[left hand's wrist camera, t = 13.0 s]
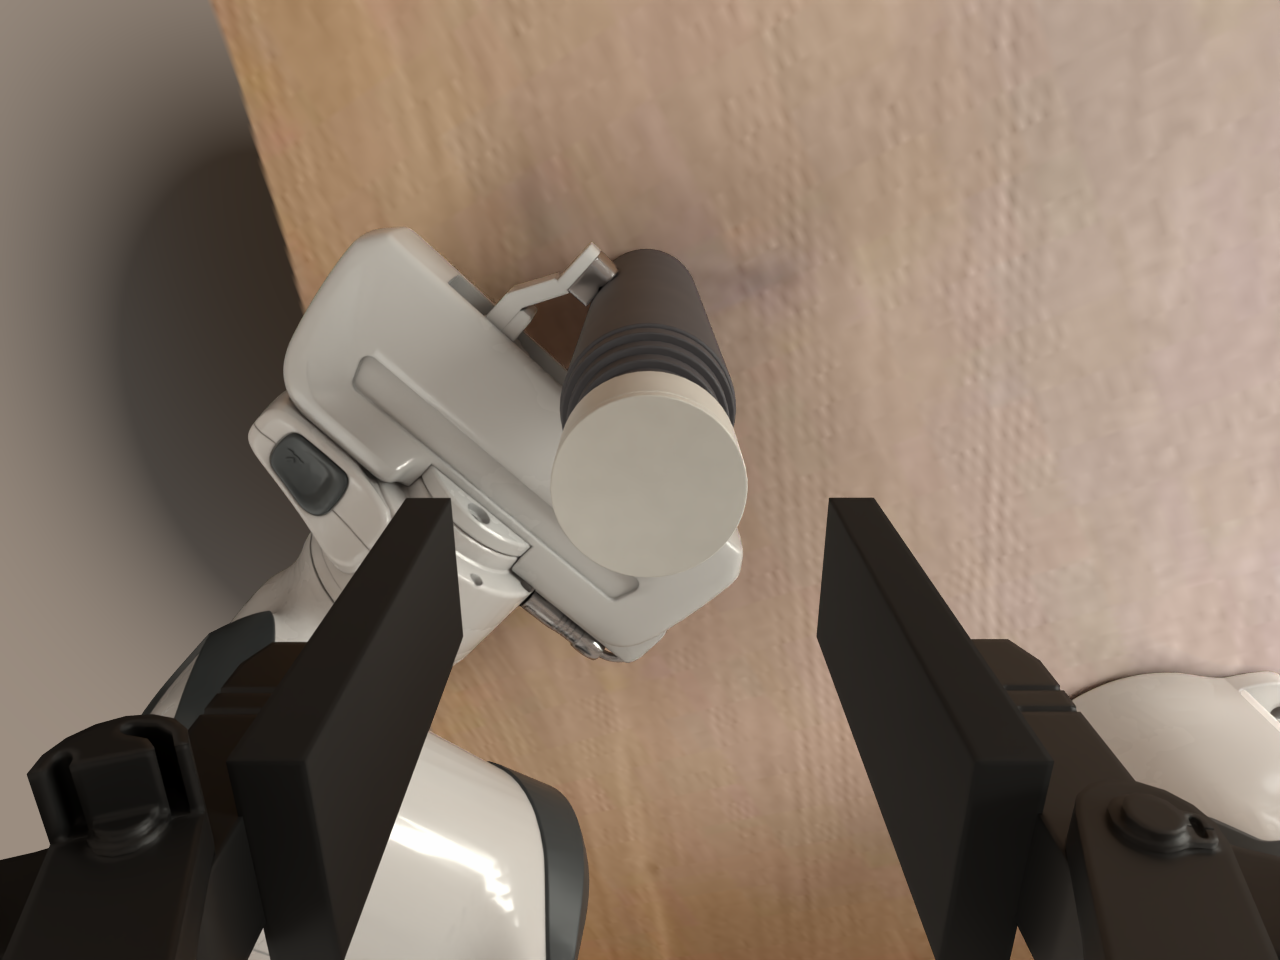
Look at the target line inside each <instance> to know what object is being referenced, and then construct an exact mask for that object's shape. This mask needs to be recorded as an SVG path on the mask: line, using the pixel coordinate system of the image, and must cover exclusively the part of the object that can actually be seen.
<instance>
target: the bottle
mask: <svg viewBox="0 0 1280 960" xmlns="http://www.w3.org/2000/svg"><path fill="white" fill-rule="evenodd" d="M613 263H614V264H615V265H616V266H617V267H618V268H619V269H618V272H617V273H616V275H615V276H614V277H613V278H612V279H611V281H610V282H609V283H607V284H606V285H605V286H601V287H600V289H599V292H598V294H597V295H596V297H595V298H594V299H593V300H592V302H591V305H590V308H589V311H588V313H587V316H586V319H585V322H584V325H583V328H582V331H581V334H580V337H579V339H578V342H577V345H576V348H575V351H574V354H573V357H572V360H571V363H570V366H569V368H568V371H567V374H566V377H565V380H564V383H563V386H562V391H561V396H560V419H561V424H562V430H563V429H564V426H565V424H566V422H567V420H568V418H569V416H570V414H571V413H572V411H573V410H574V408H575V407H576V405H577V404H578V403H579V402H580V401H581V400H582V399H583V398H584V396H586V395H587V394H588V393H589V392H590V391H592V390H593V389H594V388H596V387H597V386H599V385H600V384H602V383H604V382H606V381H608V380H610V379H612V378H614V377H617V376H621V375H624V374H628V373H633V372H641V371H656V372H665V373H669V374H674V375H677V376H680V377H683V378H686V379H688V380H690V381H692V382H694V383H695V384H697V385H699V386H700V387H702V388H703V389H704V390H706V391H707V392H708V393H709V394H710V395H712V396H713V397H714V398H715V399H716V400H717V402H718V403H719V404H720V405H721V406H722V408H723V409H724V411H725V412H726V414H727V416H728V417H729V419H730V422H731V424H732V426H733V429H734V422H735V415H736V399H735V392H734V388H733V384H732V381H731V378H730V375H729V373H728V370H727V367H726V365H725V362H724V359H723V357H722V354H721V351H720V349H719V346H718V344H717V341H716V338H715V336H714V333H713V330H712V328H711V325H710V323H709V320H708V317H707V315H706V312H705V309H704V307H703V304H702V301H701V299H700V296H699V294H698V291H697V288H696V286H695V283H694V281H693V279H692V276H691V275H690V273H689V271H688V270H687V269H686V268H685V266H684V265H683V264H682V263H681V262H680V261H678V260H677V259H676V258H674V257H673V256H671V255H669V254H667V253H664V252H662V251H658V250H652V249H640V250H634V251H631V252H628V253H626V254H624V255H622V256H620V257H618V258H617V259H615V260H614V261H613Z"/></svg>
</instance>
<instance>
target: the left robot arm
mask: <svg viewBox="0 0 1280 960" xmlns="http://www.w3.org/2000/svg"><path fill="white" fill-rule="evenodd" d="M462 639H463V627H462V616H461V605H460V594H459V583H458V571H457V560H456V549H455V538H454V527H453V516H452V505H451V498H406V499H405V500H404V502H403V503H402V505H401V506H400V508H399V509H398V511H397V512H396V513H395V515H394V516H393V518H392V519H391V521H390V522H389V524H388V525H387V527H386V528H385V529H384V531H383V532H382V534H381V535H380V537H379V538H378V540H377V541H376V543H375V544H374V546H373V547H372V548H371V550H370V551H369V553H368V554H367V556H366V557H365V559H364V560H363V562H362V563H361V564H360V566H359V567H358V569H357V570H356V572H355V573H354V575H353V576H352V578H351V579H350V581H349V582H348V583H347V585H346V586H345V588H344V589H343V591H342V592H341V594H340V595H339V597H338V598H337V599H336V601H335V602H334V604H333V605H332V607H331V608H330V610H329V611H328V613H327V614H326V616H325V617H324V618H323V620H322V621H321V623H320V624H319V626H318V627H317V629H316V630H315V632H314V633H313V634H312V636H311V637H310V639H309V640H308V642H272V643H270V644H269V645H267V646H266V647H264V648H263V649H261V650H260V651H258V652H257V653H255V654H254V655H252V656H251V657H249V658H248V659H246V660H245V661H243V662H242V663H240V665H239V666H238V667H237V668H236V670H235V671H234V672H233V673H232V675H231V676H230V677H229V679H228V680H227V681H226V682H225V684H224V685H223V686H222V687H221V692H220V693H217V694H216V695H215V696H214V698H213V699H212V700H211V701H210V703H209V704H208V705H207V706H206V708H205V709H204V715H199V717H198V718H197V719H196V720H195V722H194V723H193V724H192V725H191V727H190V728H189V729H188V731H187V728H186V727H185V726H183V725H182V724H181V723H180V722H179V721H177V720H176V719H175V718H171V717H166V716H161V715H156V714H147V715H134V716H125V717H121V718H117V719H113V720H110V721H106V722H102V723H99V724H95V725H93V726H91V727H89V728H87V729H85V730H82V731H80V732H78V733H76V734H74V735H72V736H69V737H67V738H66V739H64V740H63V741H61V742H60V743H59V744H57V745H56V746H54V747H53V748H52V749H50V750H49V751H47V752H46V753H45V754H43V755H42V756H41V757H40V758H39V760H38V761H37V762H36V763H35V765H34V766H33V767H32V768H31V770H30V771H29V772H28V773H27V777H28V779H29V782H30V785H31V788H32V791H33V794H34V797H35V800H36V803H37V806H38V809H39V812H40V815H41V818H42V821H43V824H44V827H45V830H46V833H47V836H48V839H49V842H50V847H49V848H48V849H44V850H41V851H38V852H34V853H29V854H25V855H21V856H16V857H12V858H8V859H3V860H0V960H248V958H249V956H250V954H251V952H252V950H253V948H254V946H255V944H256V942H257V940H258V938H259V936H260V934H261V932H262V930H263V929H264V934H265V938H266V943H267V947H268V952H269V956H270V960H345V957H346V954H347V951H348V949H349V946H350V943H351V941H352V938H353V935H354V932H355V930H356V927H357V924H358V921H359V919H360V916H361V913H362V911H363V908H364V905H365V902H366V900H367V897H368V894H369V892H370V889H371V886H372V883H373V881H374V878H375V875H376V873H377V870H378V867H379V864H380V862H381V859H382V856H383V854H384V851H385V848H386V845H387V843H388V840H389V837H390V835H391V832H392V829H393V826H394V824H395V821H396V818H397V816H398V813H399V810H400V807H401V805H402V802H403V799H404V797H405V794H406V791H407V788H408V786H409V783H410V780H411V778H412V775H413V772H414V769H415V767H416V764H417V761H418V759H419V756H420V753H421V750H422V748H423V745H424V742H425V740H426V737H427V734H428V731H429V729H430V726H431V723H432V720H433V718H434V715H435V712H436V710H437V707H438V704H439V701H440V699H441V696H442V693H443V691H444V688H445V685H446V682H447V680H448V677H449V674H450V672H451V669H452V666H453V663H454V661H455V658H456V655H457V653H458V650H459V647H460V644H461V642H462ZM817 639H818V642H819V644H820V647H821V650H822V653H823V655H824V658H825V661H826V663H827V666H828V669H829V672H830V674H831V677H832V680H833V682H834V685H835V688H836V691H837V693H838V696H839V699H840V701H841V704H842V707H843V710H844V712H845V715H846V718H847V720H848V723H849V726H850V729H851V731H852V734H853V737H854V740H855V742H856V745H857V748H858V750H859V753H860V756H861V759H862V761H863V764H864V767H865V769H866V772H867V775H868V778H869V780H870V783H871V786H872V788H873V791H874V794H875V797H876V799H877V802H878V805H879V807H880V810H881V813H882V816H883V818H884V821H885V824H886V826H887V829H888V832H889V835H890V837H891V840H892V843H893V845H894V848H895V851H896V854H897V856H898V859H899V862H900V864H901V867H902V870H903V873H904V875H905V878H906V881H907V883H908V886H909V889H910V892H911V894H912V897H913V900H914V902H915V905H916V908H917V911H918V913H919V916H920V919H921V921H922V924H923V927H924V930H925V932H926V935H927V938H928V941H929V943H930V946H931V949H932V951H933V954H934V957H935V960H1010V956H1011V952H1012V947H1013V943H1014V938H1015V934H1016V929H1017V925H1018V928H1019V930H1020V932H1021V934H1022V936H1023V938H1024V940H1025V942H1026V944H1027V946H1028V948H1029V950H1030V952H1031V954H1032V956H1033V958H1034V960H1280V856H1275V855H1271V854H1266V853H1262V852H1258V851H1253V850H1249V849H1245V848H1242V847H1238V846H1235V845H1231V844H1230V843H1229V842H1228V840H1227V839H1226V837H1225V836H1224V834H1223V833H1222V831H1221V830H1220V828H1219V827H1218V826H1217V824H1216V823H1215V822H1214V821H1212V820H1211V819H1210V818H1209V817H1208V816H1206V815H1205V814H1204V813H1203V812H1201V811H1200V810H1199V809H1198V808H1197V807H1195V806H1194V805H1193V804H1191V803H1189V802H1187V801H1185V800H1183V799H1181V798H1179V797H1178V796H1176V795H1174V794H1172V793H1170V792H1168V791H1166V790H1163V789H1160V788H1157V787H1154V786H1150V785H1147V784H1144V783H1141V782H1137V781H1135V780H1134V778H1133V777H1132V776H1131V775H1130V773H1129V772H1128V771H1127V770H1126V768H1125V767H1124V766H1123V765H1122V763H1121V762H1120V761H1119V759H1118V758H1117V757H1116V756H1115V754H1114V753H1113V752H1112V751H1111V749H1110V748H1109V747H1108V746H1107V744H1106V743H1105V742H1104V741H1103V739H1102V738H1101V737H1100V736H1099V734H1098V733H1097V732H1096V731H1095V729H1094V728H1093V727H1092V725H1091V724H1090V723H1089V722H1088V720H1087V719H1086V718H1085V717H1084V715H1083V714H1082V713H1081V712H1077V710H1076V705H1075V704H1074V703H1073V702H1072V700H1071V699H1070V698H1069V697H1068V695H1067V694H1066V693H1065V691H1060V685H1059V684H1058V683H1057V681H1056V680H1055V679H1054V678H1053V676H1052V675H1051V674H1050V673H1049V671H1048V670H1047V669H1046V668H1045V666H1044V665H1043V664H1042V662H1041V661H1040V660H1038V659H1037V658H1035V657H1034V656H1032V655H1031V654H1029V653H1028V652H1026V651H1025V650H1023V649H1022V648H1020V647H1019V646H1017V645H1016V644H1014V643H1013V642H1011V641H1010V640H1008V639H970V637H969V636H968V634H967V633H966V632H965V630H964V629H963V627H962V626H961V624H960V623H959V621H958V620H957V618H956V617H955V616H954V614H953V613H952V611H951V610H950V608H949V607H948V605H947V604H946V602H945V601H944V599H943V598H942V597H941V595H940V594H939V592H938V591H937V589H936V588H935V586H934V585H933V583H932V582H931V581H930V579H929V578H928V576H927V575H926V573H925V572H924V570H923V569H922V567H921V566H920V564H919V563H918V562H917V560H916V559H915V557H914V556H913V554H912V553H911V551H910V550H909V548H908V547H907V546H906V544H905V543H904V541H903V540H902V538H901V537H900V535H899V534H898V532H897V531H896V529H895V528H894V527H893V525H892V524H891V522H890V521H889V519H888V518H887V516H886V515H885V513H884V512H883V511H882V509H881V508H880V506H879V505H878V503H877V502H876V500H875V499H874V498H829V505H828V516H827V527H826V538H825V549H824V560H823V571H822V582H821V594H820V605H819V616H818V627H817Z"/></svg>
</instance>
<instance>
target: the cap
mask: <svg viewBox="0 0 1280 960" xmlns="http://www.w3.org/2000/svg"><path fill="white" fill-rule="evenodd" d="M550 491H551V501H552V505H553V509H554V513H555V515H556V518H557V520H558V523H559V525H560V526H561V528H562V530H563V532H564V533H565V535H566V536H567V537H568V539H569V540H570V541H571V543H572V544H573V545H574V546H575V547H576V548H577V549H578V550H579V551H580V552H581V553H583V554H584V555H585V556H586V557H588V558H589V559H590V560H592V561H593V562H595V563H597V564H598V565H600V566H602V567H604V568H607V569H609V570H611V571H614V572H617V573H620V574H624V575H629V576H635V577H662V576H668V575H673V574H677V573H680V572H684V571H686V570H689V569H691V568H693V567H695V566H697V565H699V564H701V563H703V562H704V561H706V560H707V559H709V558H710V557H711V556H713V555H714V554H715V553H716V552H717V551H718V550H720V549H721V548H722V547H723V546H724V545H725V543H726V542H727V541H728V540H729V538H730V537H731V536H732V534H733V533H734V531H735V529H736V528H737V526H738V524H739V522H740V520H741V517H742V515H743V512H744V508H745V505H746V499H747V492H748V487H747V473H746V467H745V463H744V460H743V457H742V453H741V450H740V447H739V444H738V441H737V438H736V435H735V432H734V429H733V426H732V424H731V422H730V419H729V417H728V416H727V414H726V412H725V411H724V409H723V408H722V406H721V405H720V404H719V403H718V402H717V400H716V399H715V398H714V397H713V396H712V395H710V394H709V393H708V392H707V391H706V390H704V389H703V388H702V387H700V386H699V385H697V384H695V383H694V382H692V381H690V380H688V379H686V378H683V377H680V376H677V375H674V374H669V373H665V372H656V371H641V372H633V373H628V374H624V375H621V376H617V377H614V378H612V379H610V380H608V381H606V382H604V383H602V384H600V385H599V386H597V387H596V388H594V389H593V390H592V391H590V392H589V393H588V394H587V395H586V396H584V398H583V399H582V400H581V401H580V402H579V403H578V404H577V405H576V407H575V408H574V410H573V411H572V413H571V414H570V416H569V418H568V420H567V422H566V424H565V426H564V429H563V432H562V435H561V439H560V442H559V446H558V449H557V453H556V456H555V460H554V463H553V467H552V473H551V483H550Z"/></svg>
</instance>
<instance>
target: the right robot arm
mask: <svg viewBox="0 0 1280 960" xmlns="http://www.w3.org/2000/svg"><path fill="white" fill-rule="evenodd" d="M618 269H619V268H618V267H617V266H616V265H615V264H614V263H613V262H612V261H611V260H610V259H609V258H608V257H607V256H606V255H605V254H604V253H603V252H602V251H601V250H600V249H599V248H598V247H597V246H596V245H595V244H594V243H593V242H591V243H590V244H589V245H588V246H587V247H586V248H585V249H584V250H583V251H582V252H581V253H580V254H579V256H578V257H577V258H576V259H575V260H574V261H573V262H572V263H571V264H570V266H569V267H568V268H567V269H566V270H565V271H564V272H563V273H562V274H561V273H560V272H558V273H554V274H551V275H548V276H544V277H541V278H538V279H534V280H531V281H528V282H524V283H521V284H518V285H514V286H513V287H512V288H511V289H510V290H509V291H508V292H507V293H506V294H505V296H504V297H503V298H502V299H501V300H500V301H499V302H498V303H497V304H496V305H495V304H494V303H493V302H492V301H491V300H490V299H489V298H488V297H487V296H485V295H484V294H483V293H482V292H481V291H480V290H479V289H478V288H477V287H476V286H474V285H473V284H472V283H471V282H470V281H469V280H468V279H467V278H466V277H464V276H463V275H462V274H461V273H460V272H459V271H458V270H457V269H456V268H455V267H453V266H452V265H451V264H450V263H449V262H448V261H447V260H446V259H445V258H443V257H442V256H441V255H440V254H439V253H438V252H437V251H436V250H435V249H434V248H432V247H431V246H430V245H429V244H428V243H427V242H426V241H425V240H424V239H423V238H422V237H420V236H419V235H418V234H417V233H416V232H415V231H414V230H412V229H410V228H408V227H387V228H380V229H375V230H372V231H369V232H367V233H365V234H363V235H361V236H360V237H359V238H358V239H356V240H355V241H354V242H353V243H352V244H351V246H350V247H349V248H348V249H347V250H346V252H345V253H344V254H343V255H342V257H341V258H340V259H339V261H338V262H337V264H336V265H335V266H334V268H333V269H332V271H331V272H330V274H329V275H328V276H327V278H326V280H325V281H324V283H323V284H322V286H321V287H320V289H319V290H318V292H317V293H316V295H315V297H314V298H313V300H312V302H311V303H310V305H309V307H308V308H307V310H306V312H305V314H304V316H303V317H302V319H301V321H300V323H299V325H298V327H297V329H296V330H295V332H294V334H293V337H292V339H291V341H290V343H289V345H288V348H287V351H286V355H285V359H284V366H283V376H284V382H285V386H286V389H287V390H286V391H284V392H283V393H282V394H280V395H279V396H278V397H277V398H276V399H275V400H274V401H273V402H272V403H271V404H270V405H269V406H268V407H267V408H266V409H265V410H264V411H263V412H262V413H261V415H260V416H259V417H258V418H257V420H256V421H255V422H254V424H253V425H252V427H251V428H250V431H249V433H248V440H249V444H250V446H251V448H252V450H253V452H254V454H255V455H256V456H257V458H258V459H259V461H260V462H261V463H262V465H263V466H264V467H265V468H266V470H267V471H268V472H269V474H270V475H271V476H272V477H273V479H274V480H275V481H276V483H277V484H278V485H279V487H280V488H281V489H282V491H283V492H284V493H285V495H286V496H287V498H288V499H289V500H290V502H291V503H292V504H293V506H294V507H295V509H296V510H297V511H298V513H299V514H300V516H301V517H302V519H303V520H304V522H305V523H306V525H307V526H308V528H309V529H310V531H311V532H310V534H309V535H308V537H307V539H306V541H305V543H304V546H303V549H302V551H301V554H300V556H299V557H298V559H297V560H296V561H295V562H294V563H293V564H292V565H291V566H290V567H288V568H286V569H284V570H283V571H281V572H279V573H277V574H276V575H274V576H273V577H271V578H270V579H269V580H267V581H266V582H265V583H264V584H263V585H262V586H261V587H260V588H259V589H258V590H257V591H256V592H255V594H254V595H253V596H252V597H251V598H250V599H249V600H248V602H247V603H246V604H245V605H244V606H243V607H242V609H241V610H240V611H239V612H238V614H237V615H236V616H235V617H234V618H233V620H232V621H231V622H230V623H229V624H227V625H225V626H223V627H221V628H219V629H217V630H215V631H213V632H211V633H209V634H208V635H207V636H206V638H205V639H204V640H203V641H202V642H201V643H200V644H199V645H198V646H197V648H196V649H195V650H194V651H193V652H192V653H191V654H190V656H189V657H188V658H187V659H186V660H185V661H184V662H183V663H182V665H181V666H180V667H179V668H178V669H177V670H176V672H175V673H174V674H173V675H172V676H171V677H170V679H169V680H168V681H167V682H166V683H165V684H164V686H163V687H162V688H161V689H160V691H159V692H158V693H157V694H156V696H155V697H154V698H153V700H152V701H151V702H150V704H149V705H148V706H147V708H146V709H145V710H144V712H143V713H142V715H147V714H156V715H161V716H166V717H171V718H175V719H176V720H177V721H179V722H180V723H181V724H182V725H183V726H185V727H186V728H187V731H188V729H189V728H190V727H191V725H192V724H193V723H194V722H195V720H196V719H197V718H198V717H199V715H204V709H205V708H206V706H207V705H208V704H209V703H210V701H211V700H212V699H213V698H214V696H215V695H216V694H217V693H220V692H221V687H222V686H223V685H224V684H225V682H226V681H227V680H228V679H229V677H230V676H231V675H232V673H233V672H234V671H235V670H236V668H237V667H238V666H239V665H240V663H242V662H243V661H245V660H246V659H248V658H249V657H251V656H252V655H254V654H255V653H257V652H258V651H260V650H261V649H263V648H264V647H266V646H267V645H269V644H270V643H272V642H308V640H309V639H310V637H311V636H312V634H313V633H314V632H315V630H316V629H317V627H318V626H319V624H320V623H321V621H322V620H323V618H324V617H325V616H326V614H327V613H328V611H329V610H330V608H331V607H332V605H333V604H334V602H335V601H336V599H337V598H338V597H339V595H340V594H341V592H342V591H343V589H344V588H345V586H346V585H347V583H348V582H349V581H350V579H351V578H352V576H353V575H354V573H355V572H356V570H357V569H358V567H359V566H360V564H361V563H362V562H363V560H364V559H365V557H366V556H367V554H368V553H369V551H370V550H371V548H372V547H373V546H374V544H375V543H376V541H377V540H378V538H379V537H380V535H381V534H382V532H383V531H384V529H385V528H386V527H387V525H388V524H389V522H390V521H391V519H392V518H393V516H394V515H395V513H396V512H397V511H398V509H399V508H400V506H401V505H402V503H403V502H404V500H405V499H406V498H451V505H452V516H453V527H454V538H455V549H456V560H457V571H458V583H459V594H460V605H461V616H462V627H463V639H462V642H461V644H460V647H459V650H458V653H457V655H456V658H455V661H454V663H453V666H454V665H455V664H457V663H458V662H460V661H461V660H462V659H463V658H465V657H466V656H467V655H468V654H469V653H470V652H471V651H472V650H473V649H474V648H475V647H476V646H477V645H478V644H479V643H480V642H481V641H482V640H483V639H484V638H485V637H487V636H488V635H489V634H490V633H491V632H492V631H493V630H494V629H495V628H496V627H497V626H498V625H499V624H500V623H501V622H502V621H503V620H504V619H505V618H506V617H507V616H508V615H509V614H510V613H511V612H512V611H513V610H514V609H515V608H516V607H517V606H519V605H520V606H521V607H522V608H523V609H525V610H526V611H527V612H529V613H530V614H531V615H532V616H534V617H535V618H536V619H537V620H539V621H540V622H541V623H543V624H544V625H545V626H547V627H548V628H550V629H552V630H553V631H555V632H557V633H558V634H560V635H561V636H562V637H564V638H565V639H566V640H567V641H569V642H570V643H571V646H572V647H573V648H574V649H575V650H576V651H578V652H579V653H580V654H582V655H583V656H585V657H587V658H589V659H591V660H596V659H597V658H599V657H600V658H602V659H604V660H607V661H612V662H626V663H630V662H633V661H635V660H637V659H639V658H640V657H642V656H643V655H644V654H645V653H646V652H647V651H648V650H650V649H651V648H652V647H653V646H654V645H655V644H656V643H658V642H659V641H660V640H661V639H662V637H663V636H664V635H665V633H666V632H667V630H668V629H669V628H671V627H673V626H674V625H676V624H677V623H679V622H680V621H682V620H684V619H685V618H687V617H688V616H690V615H691V614H693V613H694V612H695V611H697V610H698V609H700V608H701V607H703V606H704V605H705V604H707V603H708V602H709V601H711V600H712V599H713V598H715V597H716V596H717V595H719V594H720V593H721V592H722V591H724V590H725V589H726V588H727V587H729V586H730V585H731V584H732V583H733V582H734V581H735V580H736V579H737V577H738V576H739V574H740V571H741V566H742V558H743V547H742V542H741V537H740V534H739V531H738V528H736V529H735V531H734V533H733V534H732V536H731V537H730V538H729V540H728V541H727V542H726V543H725V545H724V546H723V547H722V548H721V549H720V550H718V551H717V552H716V553H715V554H714V555H713V556H711V557H710V558H709V559H707V560H706V561H704V562H703V563H701V564H699V565H697V566H695V567H693V568H691V569H689V570H686V571H684V572H680V573H677V574H673V575H668V576H662V577H635V576H629V575H624V574H620V573H617V572H614V571H611V570H609V569H607V568H604V567H602V566H600V565H598V564H597V563H595V562H593V561H592V560H590V559H589V558H588V557H586V556H585V555H584V554H583V553H581V552H580V551H579V550H578V549H577V548H576V547H575V546H574V545H573V544H572V543H571V541H570V540H569V539H568V537H567V536H566V535H565V533H564V532H563V530H562V528H561V526H560V525H559V523H558V520H557V518H556V515H555V513H554V509H553V505H552V501H551V491H550V483H551V473H552V467H553V463H554V460H555V456H556V453H557V449H558V446H559V442H560V439H561V435H562V432H563V430H562V424H561V419H560V396H561V391H562V386H563V383H564V380H565V377H566V374H567V371H568V370H567V369H566V368H565V367H564V366H563V365H562V364H560V363H559V362H558V361H557V360H556V359H555V358H554V357H553V356H552V355H551V354H549V353H548V352H547V351H546V350H545V349H544V348H543V347H542V346H541V345H540V344H538V343H537V342H536V341H535V340H534V339H533V338H532V337H531V336H530V335H528V334H527V333H526V332H525V331H524V329H525V328H526V327H527V325H528V324H529V323H530V322H531V321H532V319H533V318H534V316H535V315H536V313H537V308H536V307H535V306H534V305H533V304H537V303H540V302H543V301H546V300H549V299H552V298H556V297H559V296H562V295H565V294H568V293H572V294H573V295H574V296H575V297H576V298H577V299H578V300H579V301H580V302H582V303H583V304H584V305H585V306H587V305H588V304H589V303H590V302H591V301H592V300H593V299H594V298H595V297H596V295H597V294H598V292H599V289H600V287H601V286H605V285H606V284H607V283H609V282H610V281H611V279H612V278H613V277H614V276H615V275H616V273H617V272H618ZM605 647H606V648H607V649H608V650H610V651H611V652H612V653H611V652H608V651H606V650H604V649H605ZM1072 702H1073V703H1074V704H1075V705H1076V710H1077V712H1081V713H1082V714H1083V715H1084V717H1085V718H1086V719H1087V720H1088V722H1089V723H1090V724H1091V725H1092V727H1093V728H1094V729H1095V731H1096V732H1097V733H1098V734H1099V736H1100V737H1101V738H1102V739H1103V741H1104V742H1105V743H1106V744H1107V746H1108V747H1109V748H1110V749H1111V751H1112V752H1113V753H1114V754H1115V756H1116V757H1117V758H1118V759H1119V761H1120V762H1121V763H1122V765H1123V766H1124V767H1125V768H1126V770H1127V771H1128V772H1129V773H1130V775H1131V776H1132V777H1133V778H1134V780H1135V781H1137V782H1141V783H1144V784H1147V785H1150V786H1154V787H1157V788H1160V789H1163V790H1166V791H1168V792H1170V793H1172V794H1174V795H1176V796H1178V797H1179V798H1181V799H1183V800H1185V801H1187V802H1189V803H1191V804H1193V805H1194V806H1195V807H1197V808H1198V809H1199V810H1200V811H1201V812H1203V813H1204V814H1205V815H1206V816H1208V817H1209V818H1210V819H1211V820H1212V821H1214V822H1215V823H1216V824H1217V826H1218V827H1219V828H1220V830H1221V831H1222V833H1223V834H1224V836H1225V837H1226V839H1227V840H1228V842H1229V843H1230V844H1231V845H1235V846H1238V847H1242V848H1245V849H1249V850H1253V851H1258V852H1262V853H1266V854H1271V855H1275V856H1280V675H1279V674H1278V673H1275V672H1270V671H1260V672H1252V673H1245V674H1240V675H1235V676H1230V677H1225V678H1213V677H1204V676H1198V675H1192V674H1185V673H1172V672H1163V673H1148V674H1141V675H1135V676H1130V677H1126V678H1122V679H1118V680H1115V681H1112V682H1109V683H1106V684H1104V685H1101V686H1098V687H1096V688H1094V689H1092V690H1090V691H1087V692H1086V693H1084V694H1082V695H1080V696H1078V697H1076V698H1075V699H1073V700H1072ZM588 897H589V869H588V861H587V854H586V848H585V845H584V841H583V836H582V833H581V829H580V826H579V823H578V820H577V817H576V815H575V812H574V810H573V808H572V806H571V805H570V803H569V802H568V800H567V799H566V798H565V796H564V795H563V794H562V793H561V792H559V791H558V790H557V789H555V788H554V787H552V786H550V785H547V784H545V783H542V782H540V781H538V780H535V779H533V778H530V777H528V776H526V775H523V774H521V773H518V772H516V771H514V770H511V769H509V768H506V767H504V766H502V765H499V764H496V763H493V762H490V761H485V760H483V759H481V758H479V757H477V756H476V755H474V754H472V753H470V752H468V751H466V750H464V749H463V748H461V747H459V746H457V745H455V744H453V743H451V742H450V741H448V740H446V739H444V738H442V737H440V736H438V735H436V734H435V733H433V732H431V731H428V734H427V737H426V740H425V742H424V745H423V748H422V750H421V753H420V756H419V759H418V761H417V764H416V767H415V769H414V772H413V775H412V778H411V780H410V783H409V786H408V788H407V791H406V794H405V797H404V799H403V802H402V805H401V807H400V810H399V813H398V816H397V818H396V821H395V824H394V826H393V829H392V832H391V835H390V837H389V840H388V843H387V845H386V848H385V851H384V854H383V856H382V859H381V862H380V864H379V867H378V870H377V873H376V875H375V878H374V881H373V883H372V886H371V889H370V892H369V894H368V897H367V900H366V902H365V905H364V908H363V911H362V913H361V916H360V919H359V921H358V924H357V927H356V930H355V932H354V935H353V938H352V941H351V943H350V946H349V949H348V951H347V954H346V957H345V960H577V959H578V954H579V949H580V944H581V939H582V935H583V930H584V925H585V919H586V913H587V906H588ZM248 960H270V956H269V952H268V947H267V943H266V938H265V934H264V929H263V930H262V932H261V934H260V936H259V938H258V940H257V942H256V944H255V946H254V948H253V950H252V952H251V954H250V956H249V958H248Z"/></svg>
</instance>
